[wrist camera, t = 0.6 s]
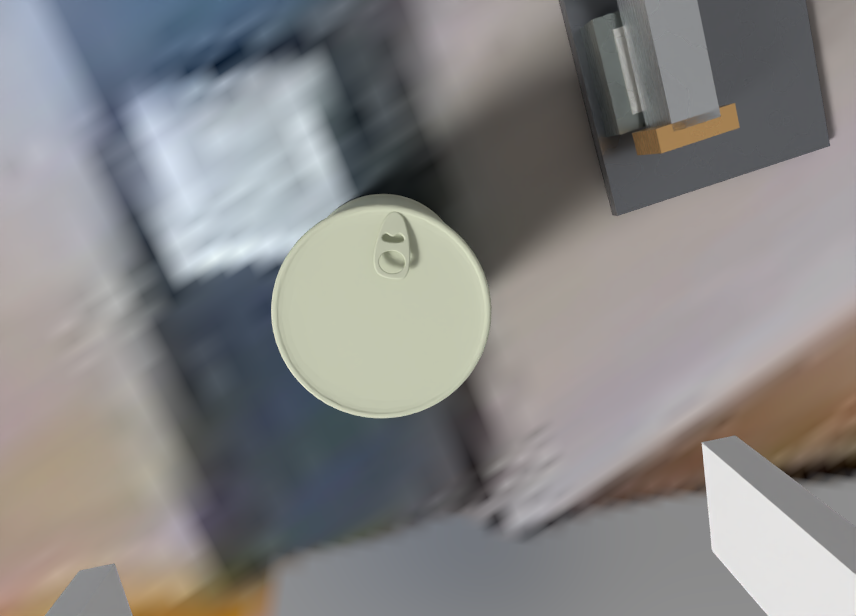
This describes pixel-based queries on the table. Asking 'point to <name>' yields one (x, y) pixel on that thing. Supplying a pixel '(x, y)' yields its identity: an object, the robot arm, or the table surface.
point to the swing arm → (672, 75)
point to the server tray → (734, 83)
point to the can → (381, 308)
